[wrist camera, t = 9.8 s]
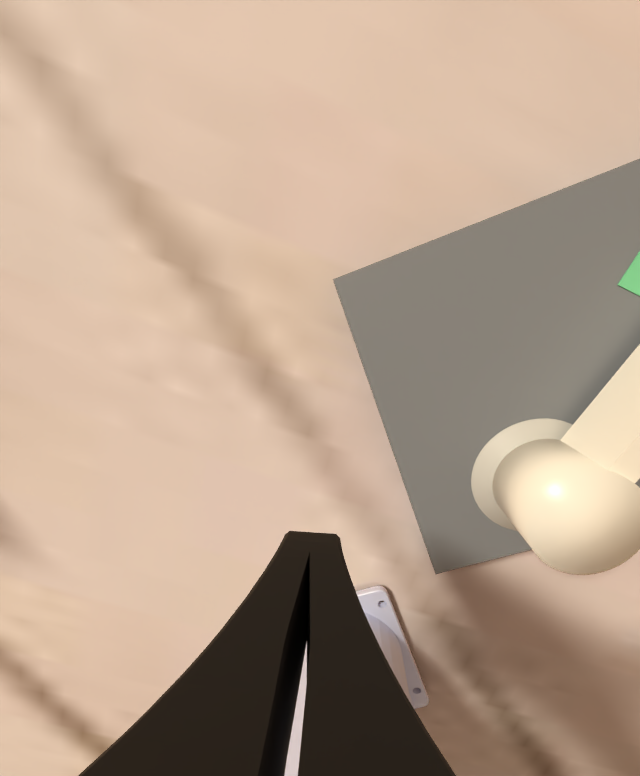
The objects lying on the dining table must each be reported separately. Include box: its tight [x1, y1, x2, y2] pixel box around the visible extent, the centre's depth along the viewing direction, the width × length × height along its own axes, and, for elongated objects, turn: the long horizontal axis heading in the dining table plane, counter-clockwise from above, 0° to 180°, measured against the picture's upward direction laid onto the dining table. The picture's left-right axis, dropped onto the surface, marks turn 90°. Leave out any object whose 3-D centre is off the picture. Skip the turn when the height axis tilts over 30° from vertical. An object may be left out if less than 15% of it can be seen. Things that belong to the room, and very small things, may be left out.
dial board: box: [333, 159, 640, 574], centre depth 16 cm, size 16×20×2 cm
